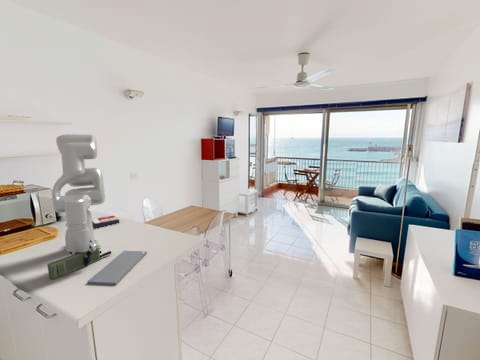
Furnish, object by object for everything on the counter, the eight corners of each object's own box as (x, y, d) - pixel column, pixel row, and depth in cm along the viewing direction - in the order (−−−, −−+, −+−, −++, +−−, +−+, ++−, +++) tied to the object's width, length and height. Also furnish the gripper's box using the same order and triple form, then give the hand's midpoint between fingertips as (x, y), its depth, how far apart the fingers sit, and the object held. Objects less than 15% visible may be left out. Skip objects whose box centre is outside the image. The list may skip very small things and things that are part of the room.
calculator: (119, 218, 160) (94, 223, 149) (119, 224, 161) (94, 229, 150) (113, 214, 168) (89, 218, 157) (114, 220, 168) (90, 225, 158)
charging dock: (87, 283, 94) (87, 281, 93) (124, 252, 119) (123, 250, 119) (116, 285, 93) (116, 282, 92) (146, 253, 118) (146, 251, 118)
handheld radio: (48, 277, 98) (109, 253, 118) (51, 280, 96) (113, 255, 116) (46, 263, 96) (108, 241, 117) (49, 265, 95) (111, 242, 115)
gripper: (52, 228, 101) (58, 267, 104) (89, 229, 100) (94, 269, 103) (66, 222, 108) (71, 259, 111) (101, 223, 107) (105, 260, 110)
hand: (82, 263), depth 107 cm, fingers closed on handheld radio, 3 cm apart
